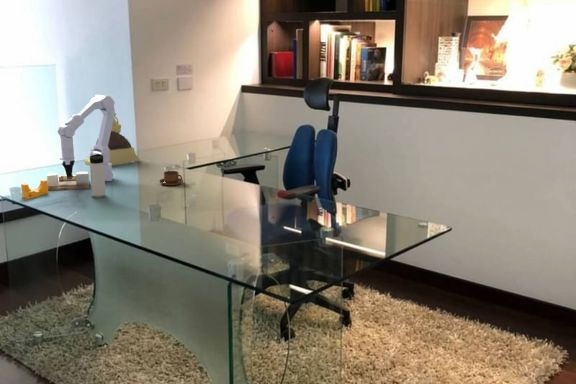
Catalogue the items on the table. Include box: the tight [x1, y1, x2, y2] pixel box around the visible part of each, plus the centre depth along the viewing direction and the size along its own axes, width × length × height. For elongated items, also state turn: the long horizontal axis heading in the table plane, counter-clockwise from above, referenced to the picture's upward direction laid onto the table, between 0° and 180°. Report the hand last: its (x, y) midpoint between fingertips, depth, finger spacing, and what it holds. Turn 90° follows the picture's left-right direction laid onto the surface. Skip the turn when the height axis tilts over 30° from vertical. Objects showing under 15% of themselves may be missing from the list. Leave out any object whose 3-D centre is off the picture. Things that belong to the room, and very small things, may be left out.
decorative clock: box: [84, 112, 141, 167], centre depth 373 cm, size 28×13×30 cm, turn 130°
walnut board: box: [47, 180, 90, 192], centre depth 324 cm, size 21×14×1 cm, turn 105°
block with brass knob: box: [58, 174, 76, 182], centre depth 323 cm, size 14×3×7 cm, turn 105°
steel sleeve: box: [75, 171, 90, 186], centre depth 325 cm, size 6×5×6 cm
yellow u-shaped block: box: [20, 179, 49, 200], centre depth 306 cm, size 12×4×6 cm, turn 143°
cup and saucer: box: [159, 170, 184, 186], centre depth 332 cm, size 12×12×6 cm
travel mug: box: [89, 154, 107, 199], centre depth 305 cm, size 6×7×20 cm
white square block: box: [46, 172, 59, 186], centre depth 321 cm, size 4×5×6 cm
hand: (69, 175), depth 323 cm, fingers closed on block with brass knob, 3 cm apart
